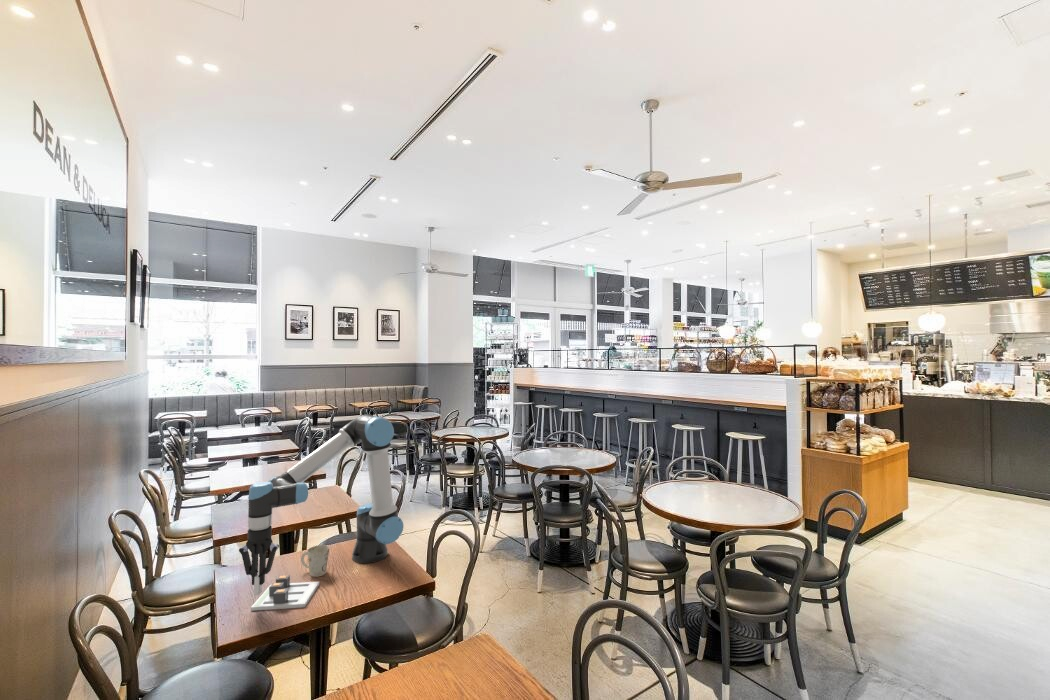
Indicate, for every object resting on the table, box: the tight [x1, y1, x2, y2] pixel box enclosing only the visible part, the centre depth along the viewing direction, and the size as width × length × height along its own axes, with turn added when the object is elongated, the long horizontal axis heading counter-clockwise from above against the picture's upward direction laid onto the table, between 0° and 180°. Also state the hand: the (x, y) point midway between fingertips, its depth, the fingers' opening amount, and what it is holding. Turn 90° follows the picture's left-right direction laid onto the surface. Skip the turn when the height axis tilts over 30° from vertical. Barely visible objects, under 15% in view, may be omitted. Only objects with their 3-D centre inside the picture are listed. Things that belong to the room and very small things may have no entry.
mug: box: [300, 544, 330, 578], centre depth 193 cm, size 8×13×10 cm, turn 78°
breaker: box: [273, 589, 288, 604], centre depth 167 cm, size 4×3×4 cm
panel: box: [250, 575, 320, 612], centre depth 173 cm, size 18×17×5 cm
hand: (257, 593), depth 166 cm, fingers closed
